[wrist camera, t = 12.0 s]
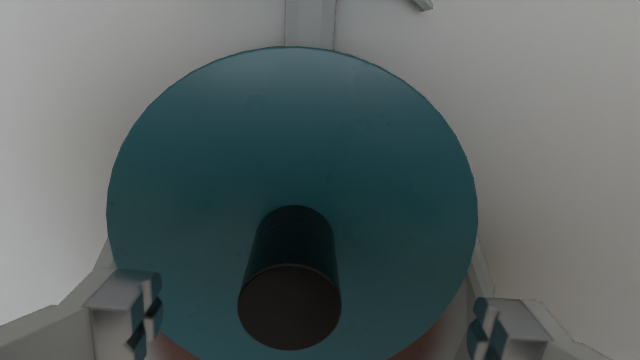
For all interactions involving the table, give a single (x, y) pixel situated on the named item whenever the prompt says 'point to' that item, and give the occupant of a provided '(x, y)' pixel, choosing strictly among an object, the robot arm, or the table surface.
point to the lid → (294, 208)
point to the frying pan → (452, 326)
